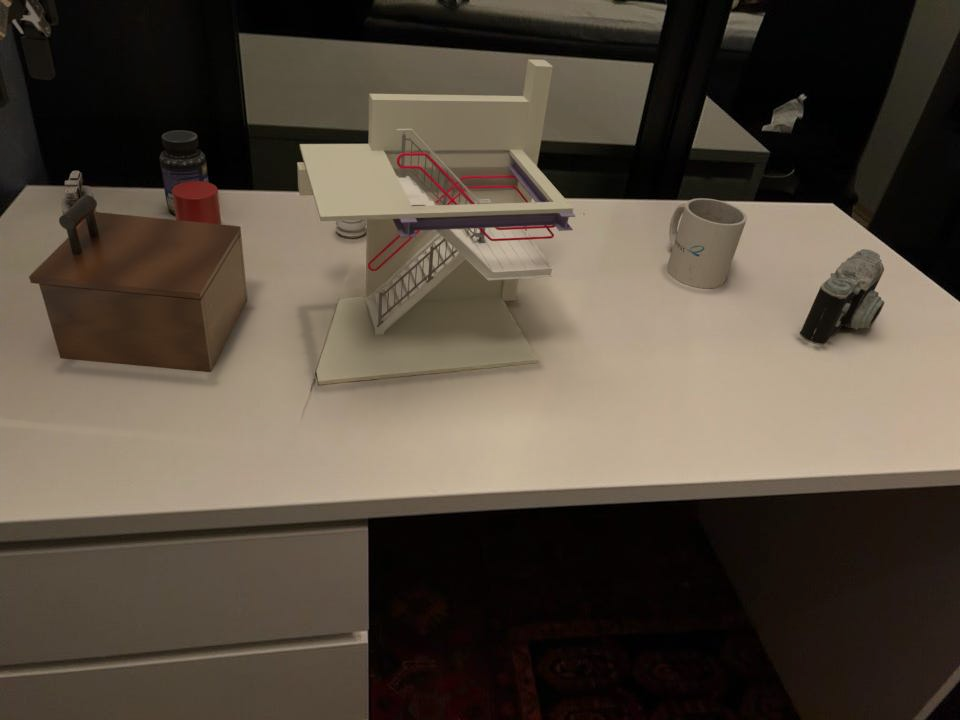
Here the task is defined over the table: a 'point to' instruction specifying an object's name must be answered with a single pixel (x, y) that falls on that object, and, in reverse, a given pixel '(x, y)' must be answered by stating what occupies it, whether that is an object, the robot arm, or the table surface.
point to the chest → (149, 321)
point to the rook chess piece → (351, 228)
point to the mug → (704, 241)
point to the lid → (136, 253)
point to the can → (197, 202)
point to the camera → (846, 298)
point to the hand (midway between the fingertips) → (21, 91)
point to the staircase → (438, 230)
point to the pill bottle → (181, 162)
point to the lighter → (74, 192)
